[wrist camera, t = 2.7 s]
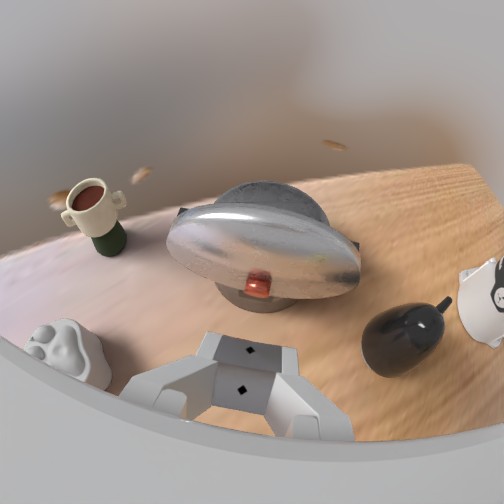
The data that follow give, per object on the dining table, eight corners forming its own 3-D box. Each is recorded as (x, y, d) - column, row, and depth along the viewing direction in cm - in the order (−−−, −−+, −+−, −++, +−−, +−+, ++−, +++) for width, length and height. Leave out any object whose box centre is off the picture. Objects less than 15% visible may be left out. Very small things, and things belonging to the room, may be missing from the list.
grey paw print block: (118, 387, 35) (92, 379, 28) (54, 410, 31) (21, 406, 24) (96, 326, 39) (70, 306, 32) (37, 352, 35) (6, 337, 28)
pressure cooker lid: (328, 295, 32) (325, 317, 31) (188, 266, 33) (182, 288, 32) (397, 235, 17) (397, 273, 16) (148, 185, 18) (133, 220, 17)
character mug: (136, 218, 50) (117, 167, 39) (143, 249, 47) (121, 199, 36) (84, 237, 47) (56, 190, 36) (87, 268, 44) (54, 224, 33)
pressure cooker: (332, 337, 41) (362, 313, 32) (167, 304, 42) (150, 270, 33) (338, 240, 51) (360, 200, 41) (200, 212, 52) (195, 167, 42)
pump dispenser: (416, 353, 40) (476, 323, 27) (376, 394, 37) (436, 379, 24) (382, 308, 44) (433, 264, 31) (339, 344, 41) (386, 309, 28)
